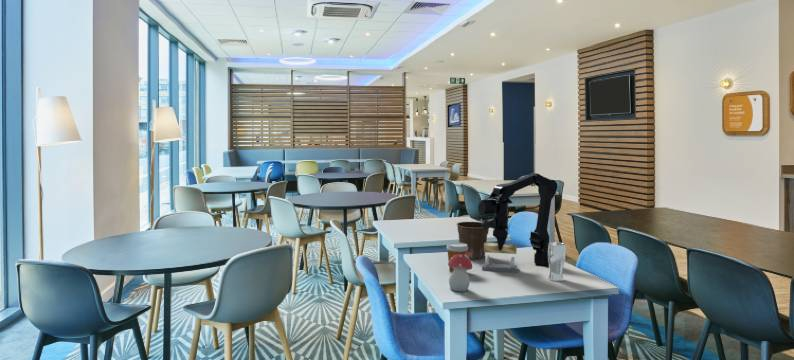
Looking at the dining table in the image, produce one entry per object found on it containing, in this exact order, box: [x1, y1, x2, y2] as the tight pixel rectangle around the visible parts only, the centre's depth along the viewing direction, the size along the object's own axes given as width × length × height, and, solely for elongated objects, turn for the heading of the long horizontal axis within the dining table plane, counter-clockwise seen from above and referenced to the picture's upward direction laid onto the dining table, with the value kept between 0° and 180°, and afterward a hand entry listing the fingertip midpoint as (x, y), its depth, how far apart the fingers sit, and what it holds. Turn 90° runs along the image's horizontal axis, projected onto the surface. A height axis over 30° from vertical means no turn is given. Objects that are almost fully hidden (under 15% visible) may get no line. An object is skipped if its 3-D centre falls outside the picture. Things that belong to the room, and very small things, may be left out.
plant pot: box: [456, 221, 490, 260], centre depth 237 cm, size 16×16×16 cm
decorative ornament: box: [447, 252, 473, 293], centre depth 184 cm, size 9×6×15 cm
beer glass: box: [547, 241, 567, 282], centre depth 199 cm, size 7×7×15 cm
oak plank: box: [484, 242, 518, 255], centre depth 214 cm, size 14×6×3 cm, turn 76°
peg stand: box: [481, 254, 518, 273], centre depth 215 cm, size 15×7×6 cm, turn 76°
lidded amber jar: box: [446, 242, 468, 273], centre depth 210 cm, size 10×10×12 cm
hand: (500, 248), depth 214 cm, fingers closed on oak plank, 6 cm apart
